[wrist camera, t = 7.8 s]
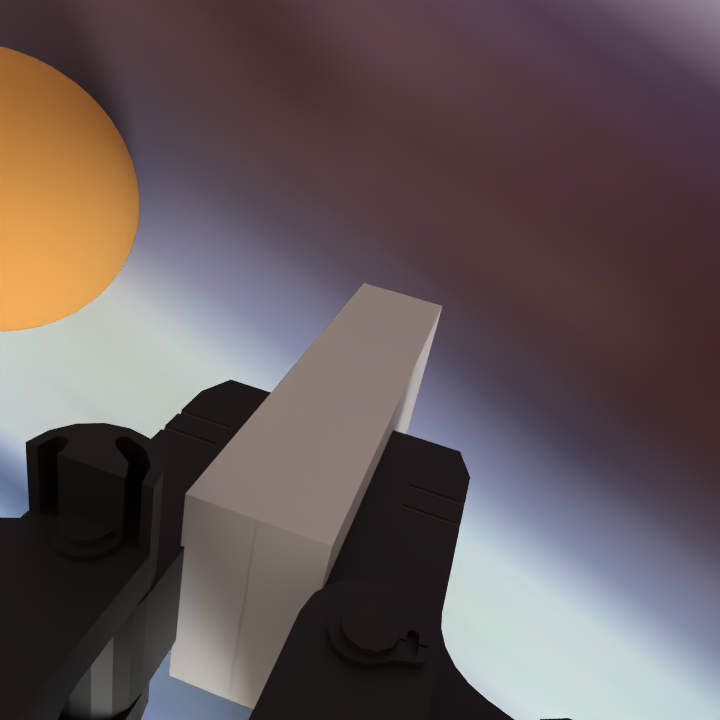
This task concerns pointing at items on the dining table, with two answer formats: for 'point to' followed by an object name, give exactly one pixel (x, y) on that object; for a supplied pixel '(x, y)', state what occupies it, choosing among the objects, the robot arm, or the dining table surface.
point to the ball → (58, 195)
